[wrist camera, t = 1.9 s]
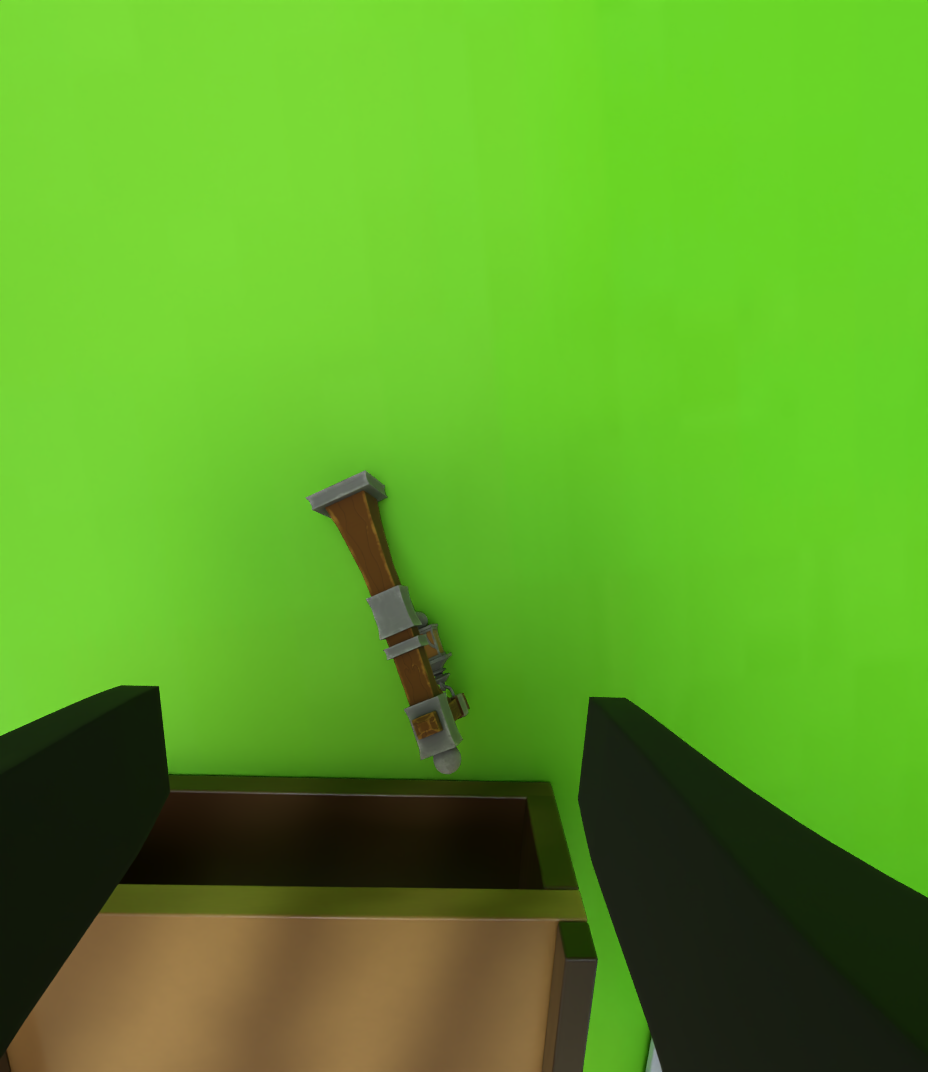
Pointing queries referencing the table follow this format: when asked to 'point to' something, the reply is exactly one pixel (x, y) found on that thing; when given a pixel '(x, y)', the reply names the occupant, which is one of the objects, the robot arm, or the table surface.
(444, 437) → the table surface
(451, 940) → the shallow wooden tray
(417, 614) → the wooden post with brackets
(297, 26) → the table surface
